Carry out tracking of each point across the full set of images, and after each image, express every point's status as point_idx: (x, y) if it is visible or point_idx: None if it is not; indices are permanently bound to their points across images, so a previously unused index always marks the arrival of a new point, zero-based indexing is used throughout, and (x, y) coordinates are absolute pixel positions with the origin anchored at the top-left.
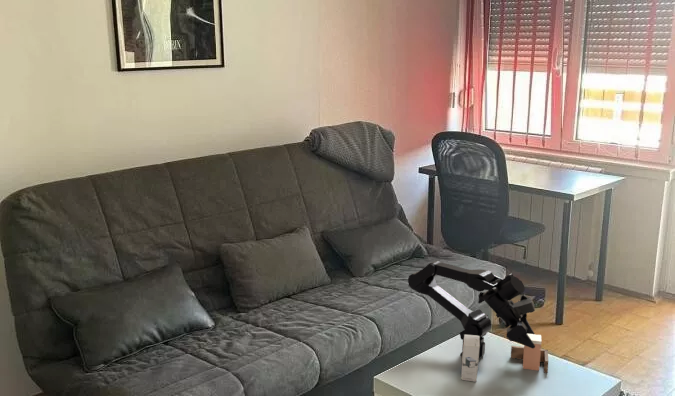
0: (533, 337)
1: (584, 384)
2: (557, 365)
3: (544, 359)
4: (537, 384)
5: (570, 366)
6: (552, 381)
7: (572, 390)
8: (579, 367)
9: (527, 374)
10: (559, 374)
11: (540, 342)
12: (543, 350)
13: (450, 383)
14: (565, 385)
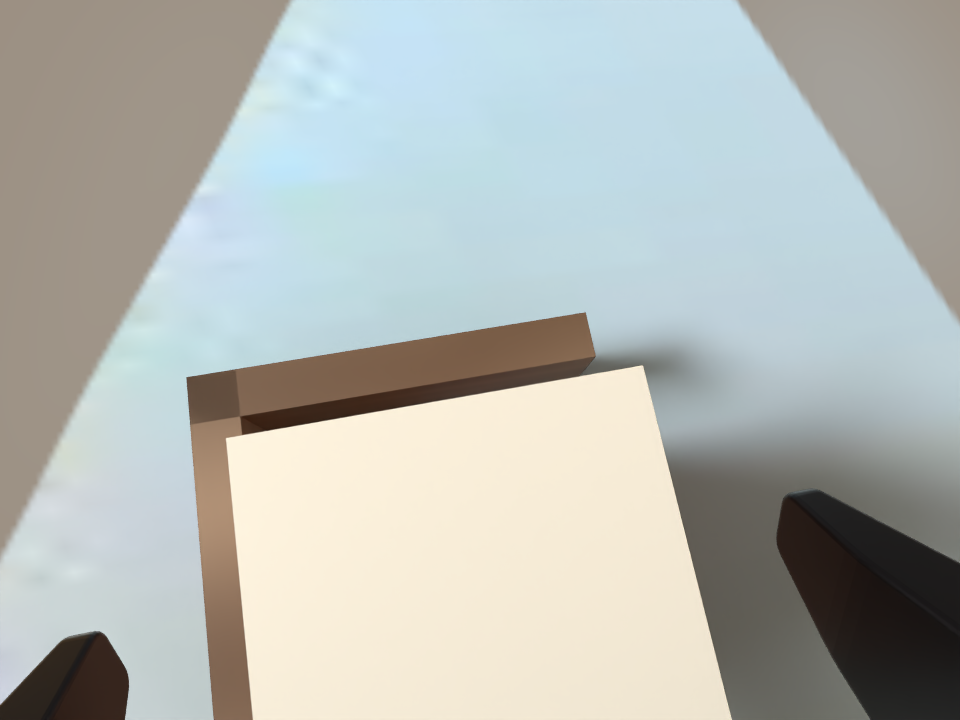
0: (489, 610)
1: (622, 14)
2: (310, 284)
3: (400, 403)
4: (880, 416)
5: (277, 159)
6: (724, 284)
7: (801, 96)
8: (264, 78)
9: (708, 567)
10: (526, 239)
11: (640, 393)
12: (233, 434)
13: None
14: (738, 161)
